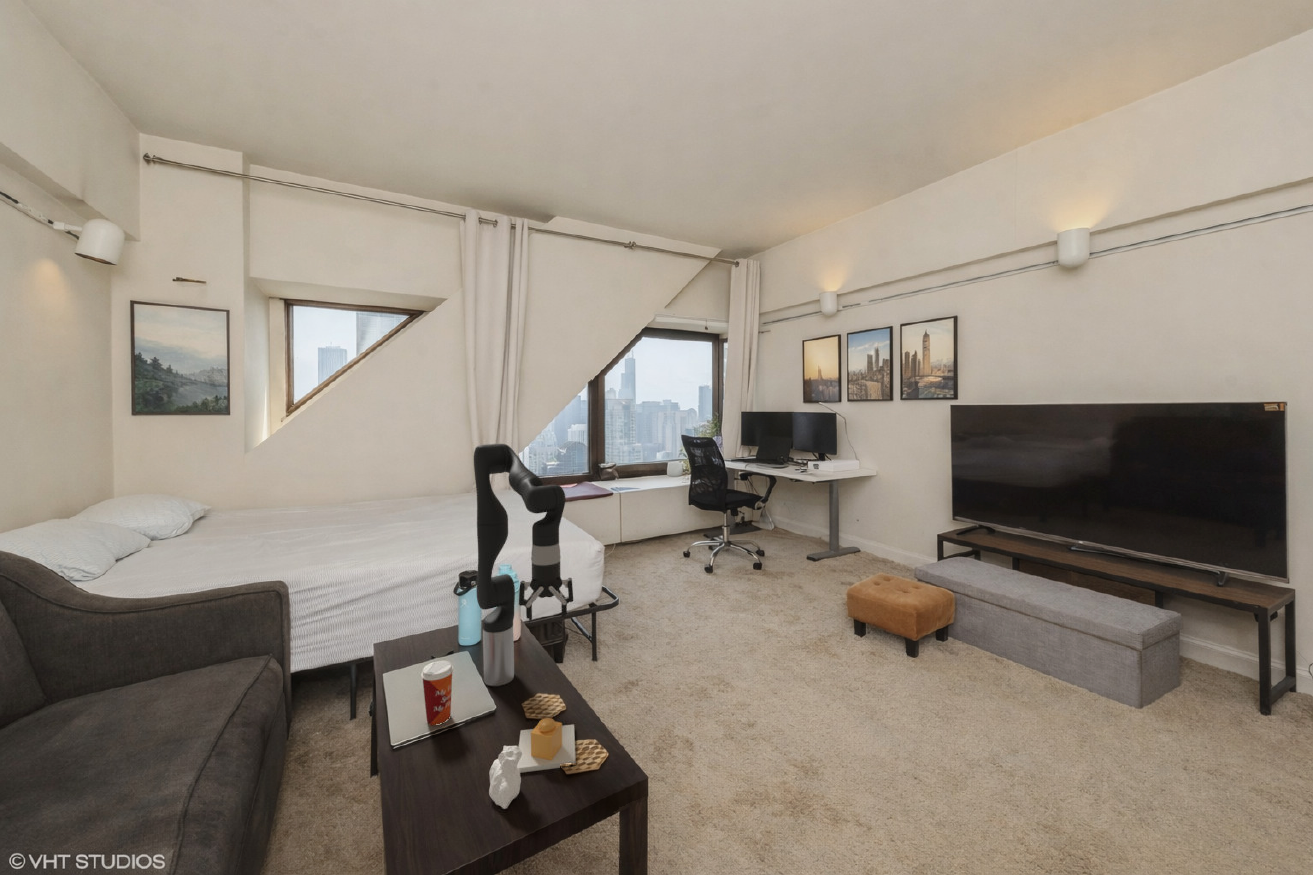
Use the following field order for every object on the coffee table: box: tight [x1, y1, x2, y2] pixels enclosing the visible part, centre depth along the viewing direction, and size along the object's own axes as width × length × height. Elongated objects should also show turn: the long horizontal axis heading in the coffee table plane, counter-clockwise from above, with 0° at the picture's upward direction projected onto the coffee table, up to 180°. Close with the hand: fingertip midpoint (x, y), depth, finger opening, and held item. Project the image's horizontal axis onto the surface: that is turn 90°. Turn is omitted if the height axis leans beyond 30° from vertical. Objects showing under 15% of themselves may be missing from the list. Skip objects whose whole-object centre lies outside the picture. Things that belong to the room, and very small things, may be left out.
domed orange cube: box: [531, 717, 563, 761], centre depth 125 cm, size 6×6×7 cm
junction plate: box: [517, 724, 576, 774], centre depth 127 cm, size 15×14×6 cm
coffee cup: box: [420, 660, 454, 726], centre depth 139 cm, size 8×8×15 cm
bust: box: [488, 745, 522, 810], centre depth 113 cm, size 12×8×11 cm
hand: (546, 618), depth 135 cm, fingers open, 8 cm apart
